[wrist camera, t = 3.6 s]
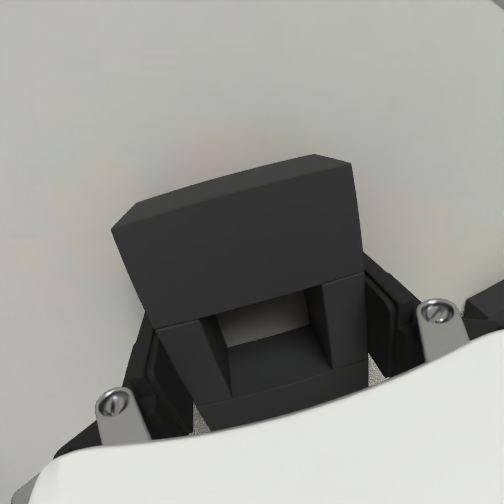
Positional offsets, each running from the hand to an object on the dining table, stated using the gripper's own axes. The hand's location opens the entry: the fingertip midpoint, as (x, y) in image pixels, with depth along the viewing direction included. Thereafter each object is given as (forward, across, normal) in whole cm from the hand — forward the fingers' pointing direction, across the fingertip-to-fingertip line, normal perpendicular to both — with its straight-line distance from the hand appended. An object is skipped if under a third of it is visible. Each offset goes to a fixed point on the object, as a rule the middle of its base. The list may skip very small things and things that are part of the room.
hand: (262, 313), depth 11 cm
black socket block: (+1, 0, 0) cm, 1 cm away
